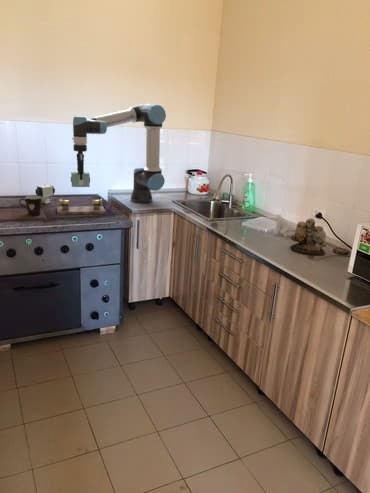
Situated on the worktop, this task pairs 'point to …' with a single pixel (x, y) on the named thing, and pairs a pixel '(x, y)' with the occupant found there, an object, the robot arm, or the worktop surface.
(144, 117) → the robot arm
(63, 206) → the pipe rig
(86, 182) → the coupling block
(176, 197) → the worktop surface
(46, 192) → the pneumatic valve
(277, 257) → the worktop surface
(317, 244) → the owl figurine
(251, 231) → the worktop surface
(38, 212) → the coffee mug
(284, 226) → the toy dinosaur
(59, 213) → the base board
